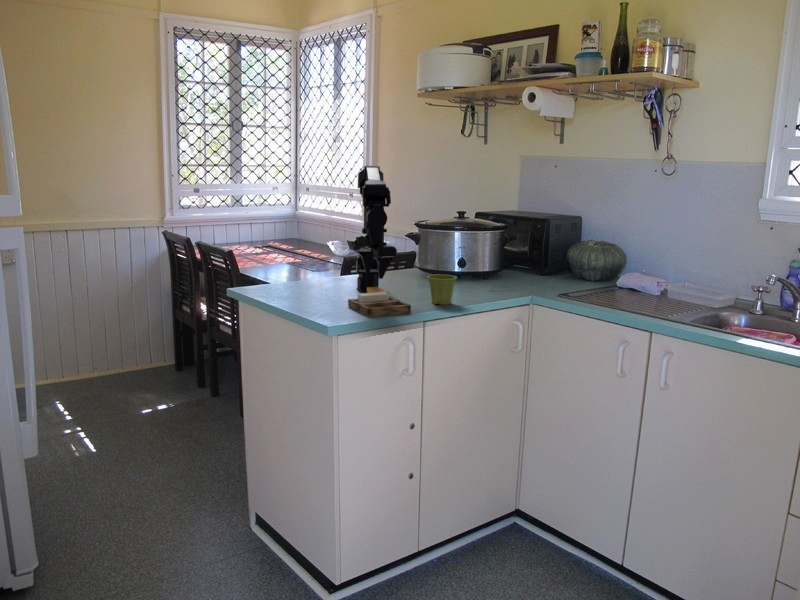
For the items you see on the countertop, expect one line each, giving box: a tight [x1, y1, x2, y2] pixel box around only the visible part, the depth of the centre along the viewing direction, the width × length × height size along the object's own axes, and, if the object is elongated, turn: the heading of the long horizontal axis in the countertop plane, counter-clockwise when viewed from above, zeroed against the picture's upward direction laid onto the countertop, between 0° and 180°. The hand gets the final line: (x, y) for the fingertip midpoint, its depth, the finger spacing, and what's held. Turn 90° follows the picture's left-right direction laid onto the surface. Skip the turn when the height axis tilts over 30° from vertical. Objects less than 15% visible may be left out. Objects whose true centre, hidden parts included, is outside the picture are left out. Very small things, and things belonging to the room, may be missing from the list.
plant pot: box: [426, 273, 458, 306], centre depth 214 cm, size 9×9×9 cm
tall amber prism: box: [366, 286, 390, 295], centre depth 218 cm, size 9×4×4 cm, turn 29°
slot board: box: [347, 295, 412, 318], centre depth 202 cm, size 14×14×2 cm
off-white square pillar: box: [357, 292, 390, 303], centre depth 205 cm, size 9×4×4 cm, turn 118°
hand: (373, 276), depth 204 cm, fingers open, 9 cm apart
